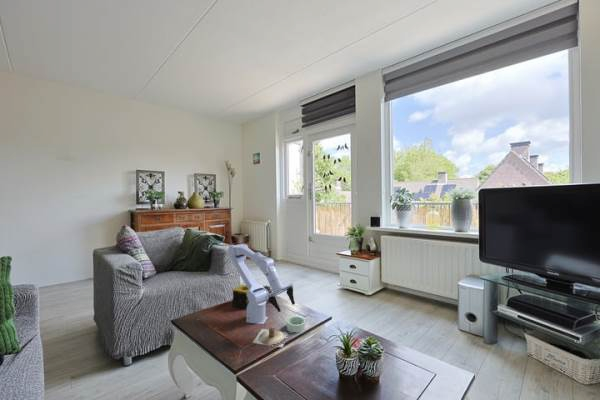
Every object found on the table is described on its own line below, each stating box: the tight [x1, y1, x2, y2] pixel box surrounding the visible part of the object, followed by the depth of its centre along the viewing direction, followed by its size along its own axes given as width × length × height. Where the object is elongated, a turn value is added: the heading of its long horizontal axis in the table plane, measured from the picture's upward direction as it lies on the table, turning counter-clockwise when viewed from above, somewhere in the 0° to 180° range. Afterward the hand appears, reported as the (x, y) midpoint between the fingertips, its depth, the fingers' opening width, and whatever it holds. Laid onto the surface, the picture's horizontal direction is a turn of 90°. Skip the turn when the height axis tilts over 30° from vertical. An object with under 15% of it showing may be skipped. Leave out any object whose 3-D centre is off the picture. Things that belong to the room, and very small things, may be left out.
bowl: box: [286, 315, 306, 334], centre depth 132 cm, size 9×9×4 cm
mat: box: [252, 328, 289, 348], centre depth 124 cm, size 14×12×1 cm
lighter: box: [262, 285, 273, 304], centre depth 162 cm, size 8×3×10 cm, turn 84°
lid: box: [260, 327, 284, 346], centre depth 123 cm, size 11×11×4 cm
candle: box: [231, 284, 249, 310], centre depth 157 cm, size 10×10×10 cm
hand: (286, 307), depth 126 cm, fingers open, 7 cm apart
